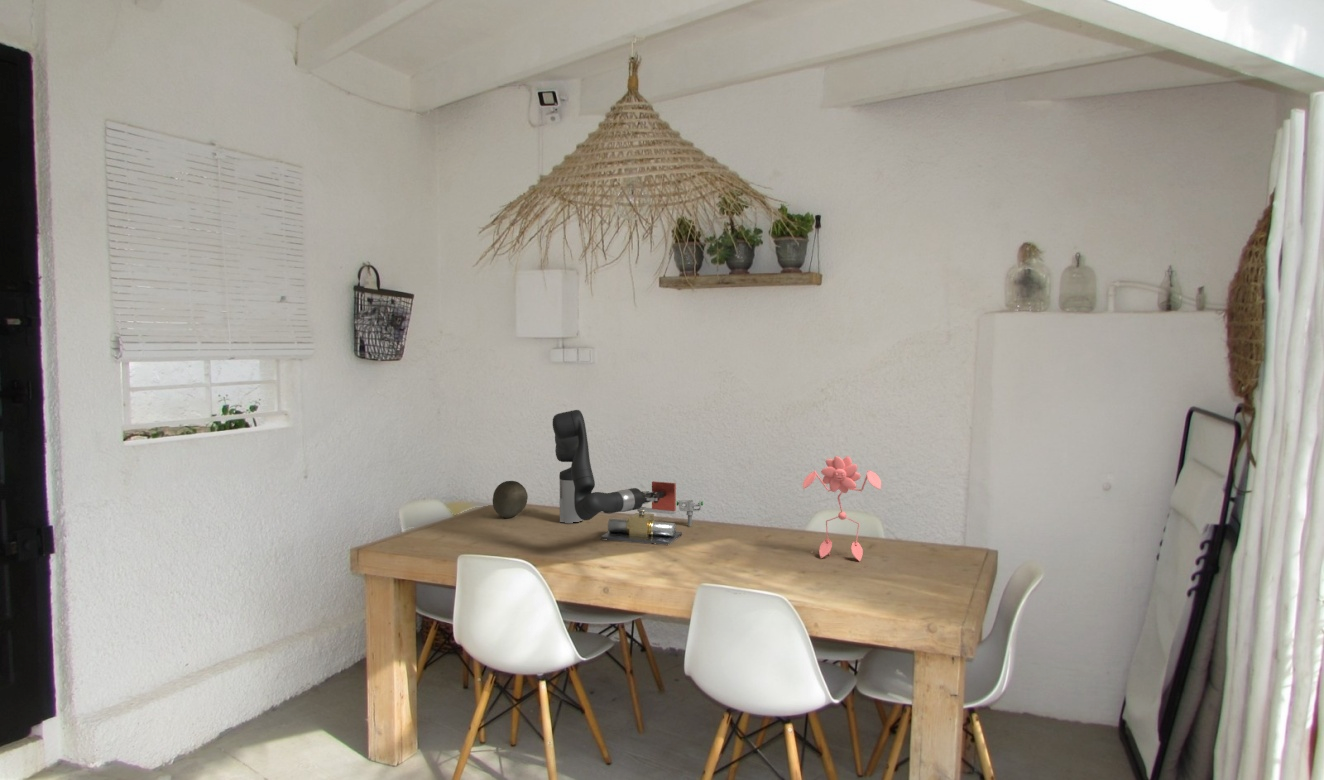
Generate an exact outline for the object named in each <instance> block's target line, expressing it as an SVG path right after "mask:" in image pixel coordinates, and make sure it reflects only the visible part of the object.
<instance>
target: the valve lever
mask: <svg viewBox="0 0 1324 780" xmlns="http://www.w3.org/2000/svg"><path fill="white" fill-rule="evenodd" d="M676 489H677V483H676V482H668V481H667V482H665V481H651V492H652V491H653V492H658V491H664V498H659V501H658V503H654V502H651V507H646V506H642V507H641V508H640V509H637V510H636V511H637V513H639V512H644V513H645V512H646V513H652V514H654V513H655V514H666V515H676V514H677V510H676V509H677V507H676V506H677V499H676V498H677V492H676Z"/></svg>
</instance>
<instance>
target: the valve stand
mask: <svg viewBox="0 0 1324 780" xmlns="http://www.w3.org/2000/svg"><path fill="white" fill-rule="evenodd" d="M654 516H655V514H654V513H645V512H635V513H633V514H632V515H630V516H629V518H627V519H623V518H613V517H612V518H609V519H608V522H607V529H608V530H607V532H605V533H604V534H602V535H600V540H601V539H607V540H606V541H610V540H619V541H618V542H622V541H631V542H630V543H634V542H644V543H643V544H646V543H656V544H655V545H658V544H667V545H666V546H669V545H671V544H672V543H673V542H675V541H676V540H677V539H679V538H680V537H681V536H680V535H683V532H682V531H677V525H676V523H675V522H665V521H657V520H656V519H655V517H654ZM679 536H680V537H679ZM678 537H679V538H678ZM676 538H677V539H676ZM675 539H676V540H675ZM674 540H675V541H674ZM672 541H673V542H672ZM671 542H672V543H671ZM670 543H671V544H670ZM668 544H669V545H668Z"/></svg>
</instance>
